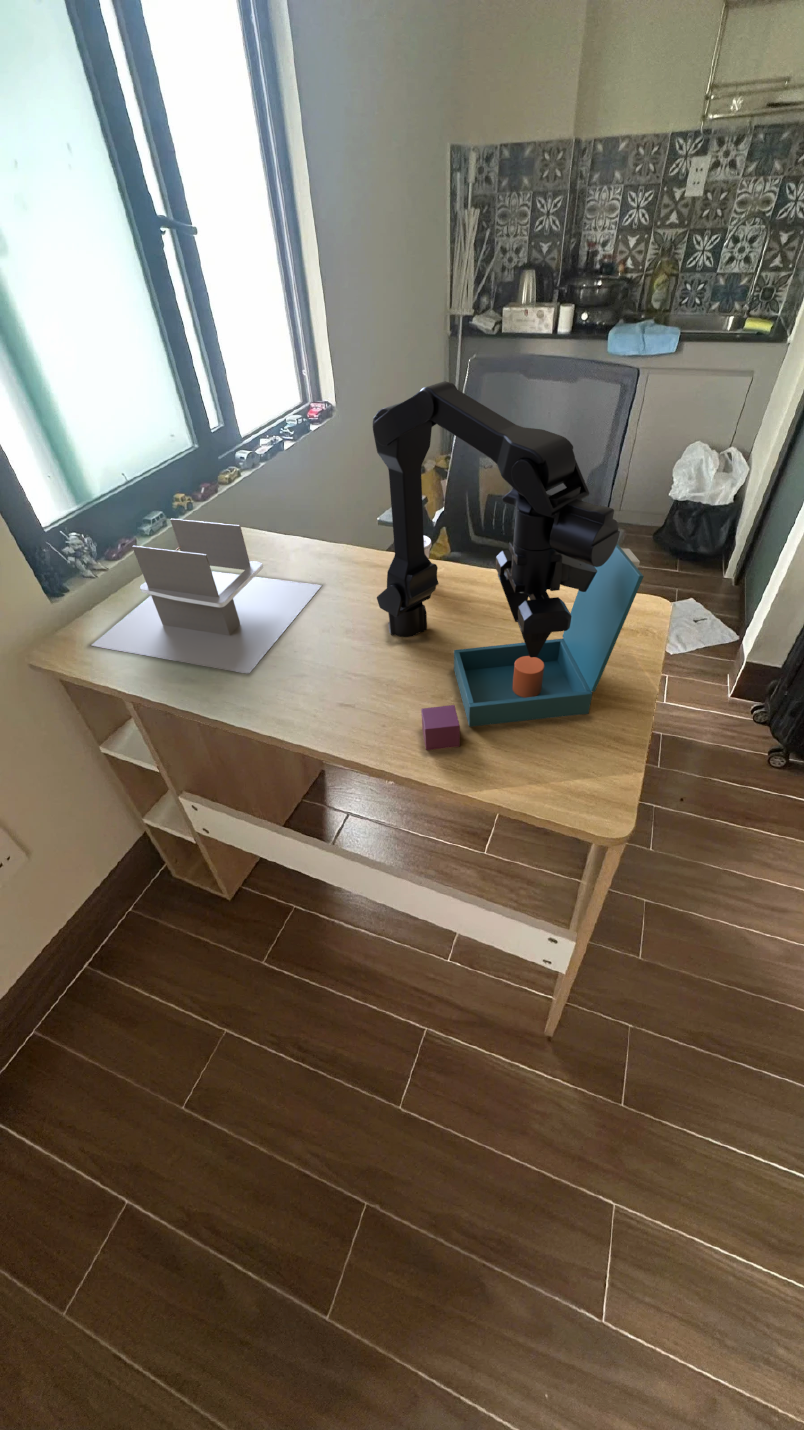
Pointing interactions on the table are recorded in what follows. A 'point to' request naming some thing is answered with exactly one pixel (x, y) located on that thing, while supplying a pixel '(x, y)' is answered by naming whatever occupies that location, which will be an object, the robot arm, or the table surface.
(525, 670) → the orange cylinder
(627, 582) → the lunchbox lid
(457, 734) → the purple cube
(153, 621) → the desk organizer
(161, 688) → the table surface
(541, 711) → the box
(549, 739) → the table surface
